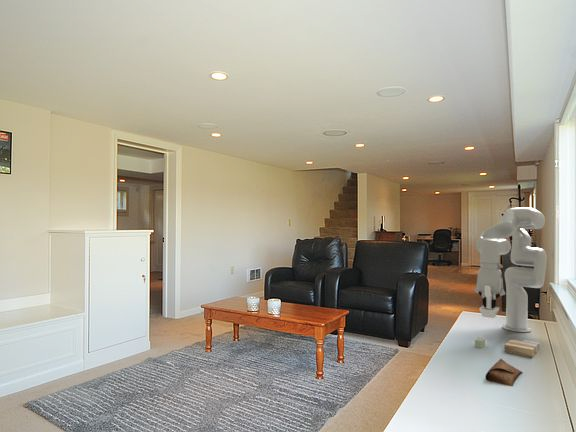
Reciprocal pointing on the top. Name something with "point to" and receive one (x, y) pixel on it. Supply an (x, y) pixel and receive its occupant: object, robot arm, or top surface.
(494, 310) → the figurine
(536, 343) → the brick slate
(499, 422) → the top surface
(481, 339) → the brick sage
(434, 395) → the top surface
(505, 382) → the sunglasses case
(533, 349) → the oak pedestal
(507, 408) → the top surface
